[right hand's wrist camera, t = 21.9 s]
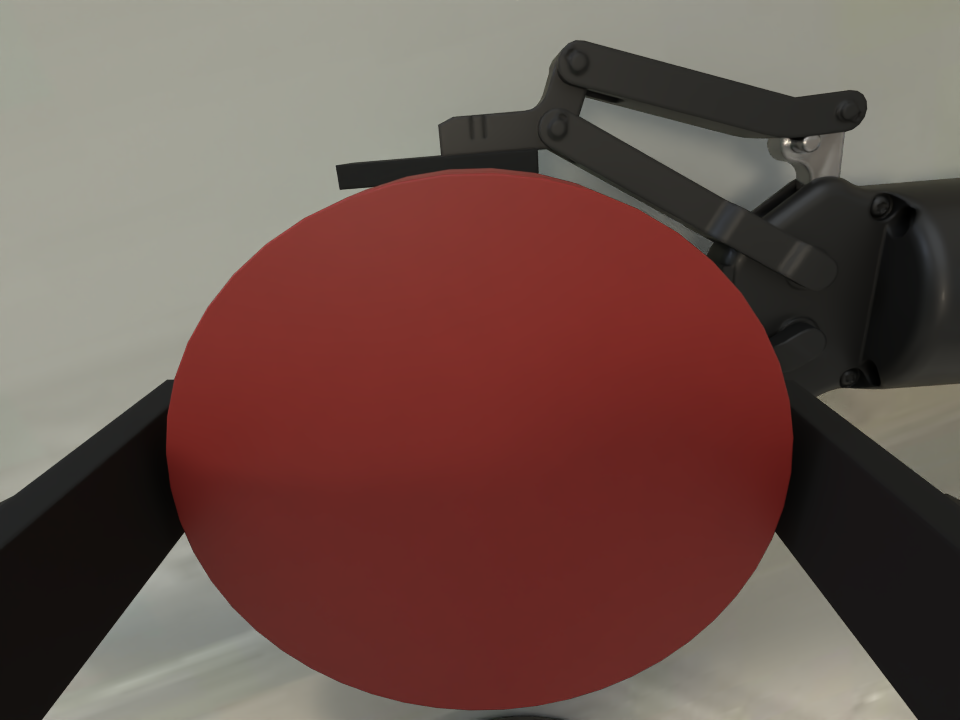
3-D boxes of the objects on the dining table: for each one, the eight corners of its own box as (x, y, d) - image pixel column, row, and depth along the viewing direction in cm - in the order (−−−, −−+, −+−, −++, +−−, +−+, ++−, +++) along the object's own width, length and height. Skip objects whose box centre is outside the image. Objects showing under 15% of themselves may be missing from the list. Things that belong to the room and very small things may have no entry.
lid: (859, 277, 10) (925, 300, 9) (624, 688, 15) (641, 753, 13) (251, 75, 9) (205, 63, 8) (181, 588, 13) (140, 647, 12)
